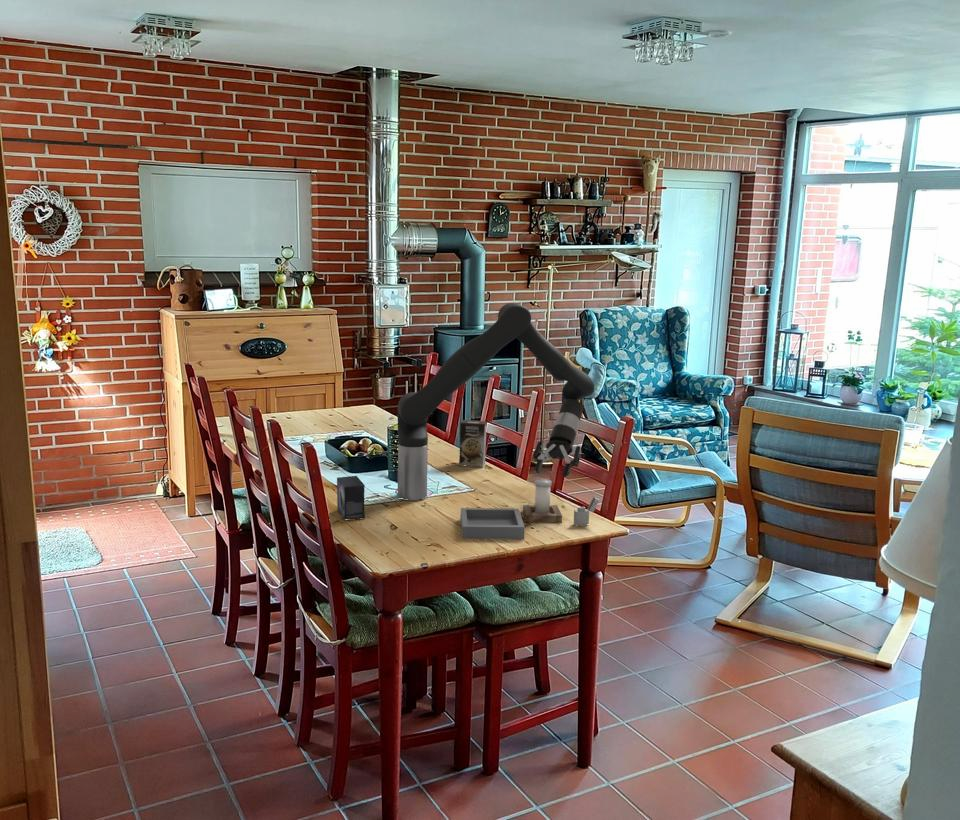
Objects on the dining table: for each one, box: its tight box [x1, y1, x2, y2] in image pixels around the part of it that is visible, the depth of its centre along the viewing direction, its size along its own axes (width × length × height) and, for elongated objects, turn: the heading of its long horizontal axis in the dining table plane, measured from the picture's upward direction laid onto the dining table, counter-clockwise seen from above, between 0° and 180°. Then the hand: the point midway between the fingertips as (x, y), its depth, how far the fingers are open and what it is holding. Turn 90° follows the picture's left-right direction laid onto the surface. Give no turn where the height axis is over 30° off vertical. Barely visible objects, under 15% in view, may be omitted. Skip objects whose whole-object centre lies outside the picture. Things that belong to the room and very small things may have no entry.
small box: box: [336, 475, 366, 520], centre depth 261 cm, size 11×6×10 cm, turn 21°
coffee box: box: [458, 419, 487, 467], centre depth 322 cm, size 9×6×16 cm
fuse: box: [534, 478, 553, 514], centre depth 264 cm, size 5×5×11 cm
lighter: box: [573, 496, 600, 526], centre depth 258 cm, size 7×2×8 cm, turn 105°
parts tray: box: [460, 507, 526, 540], centre depth 252 cm, size 17×17×4 cm
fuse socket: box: [522, 504, 563, 523], centre depth 265 cm, size 10×10×2 cm
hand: (550, 474), depth 269 cm, fingers open, 8 cm apart
